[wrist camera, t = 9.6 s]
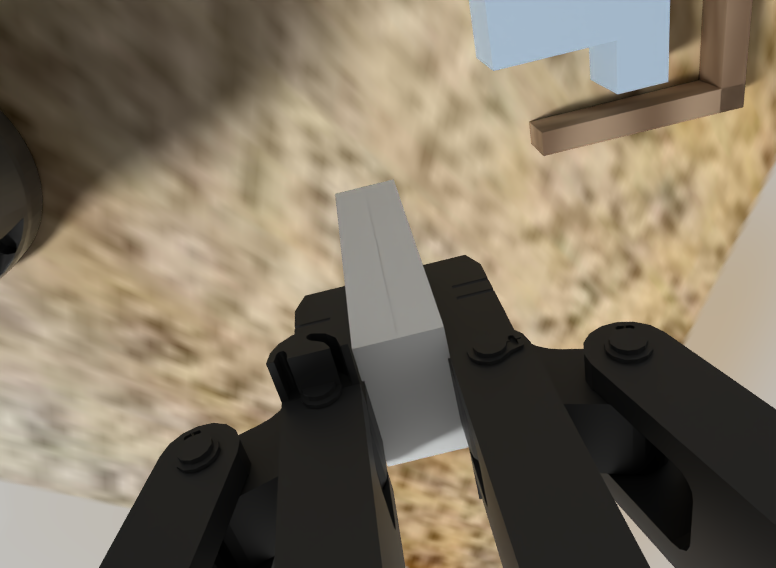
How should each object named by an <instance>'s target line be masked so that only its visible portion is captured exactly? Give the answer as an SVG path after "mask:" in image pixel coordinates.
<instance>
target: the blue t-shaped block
mask: <svg viewBox="0 0 776 568" xmlns="http://www.w3.org/2000/svg"><path fill="white" fill-rule="evenodd" d="M469 4H470V12H471V19H472V27H473V35H474V42H475V50H476V57H477V59H479V60H480V61H481V62H483V63H484V64H485V65H486V66H488V67H489V68H490V69H491V70H493V71H495V70H499V69H503V68H507V67H511V66H515V65H519V64H523V63H527V62H532V61H536V60H540V59H544V58H548V57H552V56H556V55H560V54H564V53H568V52H572V51H576V50H580V49H584V48H588V47H589V54H590V79H591V80H592V81H594V82H596V83H598V84H599V85H601V86H603V87H605V88H607V89H609V90H610V91H612V92H614V93H616V94H621V93H625V92H629V91H633V90H637V89H641V88H645V87H649V86H653V85H657V84H662V83H666V82H668V68H669V25H670V0H469Z"/></svg>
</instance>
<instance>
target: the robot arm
mask: <svg viewBox="0 0 776 568" xmlns="http://www.w3.org/2000/svg"><path fill="white" fill-rule="evenodd" d="M335 196H336V206H337V215H338V224H339V234H340V243H341V252H342V262H343V271H344V280H345V286H343V287H339V288H335V289H331V290H327V291H323V292H319V293H315V294H311V295H306V296H305V297H304V298H303V300H302V301H301V303H300V304H299V306H298V308H297V309H296V311H295V335H292V336H290V337H289V338H287V339H286V340H284V341H283V342H281V343H279V344H278V345H277V347H276V348H275V349H274V350H273V351H272V352H271V353H270V355H269V358H268V360H267V363H266V365H267V367H268V370H269V372H270V375H271V377H272V380H273V382H274V385H275V387H276V390H277V392H278V394H279V397H280V399H281V402H282V409H281V410H280V411H279V412H278V413H276V414H275V415H274V416H273V417H272V418H270V419H269V420H267V421H265V422H264V423H262V424H260V425H258V426H256V427H254V428H252V429H250V430H248V431H246V432H244V433H242V434H240V435H238V434H237V432H236V430H235V429H233V428H232V427H230V426H228V425H227V424H218V423H211V424H206V425H202V426H198V427H196V428H194V429H191V430H189V431H187V432H185V433H183V434H182V435H180V436H179V437H178V438H177V439H175V440H174V441H173V442H172V443H170V444H169V445H168V447H167V448H166V449H165V451H164V452H163V453H162V455H161V456H160V457H159V459H158V461H157V463H156V465H155V466H154V468H153V470H152V472H151V474H150V476H149V477H148V479H147V481H146V483H145V485H144V487H143V488H142V490H141V492H140V494H139V496H138V497H137V499H136V501H135V503H134V505H133V507H132V508H131V510H130V512H129V514H128V516H127V518H126V519H125V521H124V523H123V525H122V527H121V528H120V530H119V532H118V534H117V536H116V538H115V539H114V541H113V543H112V545H111V547H110V548H109V550H108V552H107V554H106V556H105V558H104V559H103V561H102V563H101V565H100V567H99V568H405V562H404V556H403V549H402V543H401V537H400V530H399V524H398V518H397V511H396V505H395V498H394V492H393V488H392V485H391V481H390V478H389V475H388V472H387V466H386V462H387V465H388V466H392V465H396V464H401V463H405V462H409V461H413V460H417V459H421V458H425V457H429V456H434V455H438V454H442V453H446V452H450V451H454V450H458V449H463V448H467V447H468V446H469V450H470V455H471V460H472V464H473V469H474V474H475V479H476V484H477V489H478V494H479V499H483V503H484V506H485V509H486V513H487V516H488V519H489V523H490V526H491V529H492V532H493V536H494V539H495V542H496V546H497V549H498V552H499V556H500V559H501V562H502V565H503V568H650V566H649V564H648V563H647V561H646V559H645V557H644V555H643V553H642V551H641V549H640V547H639V546H638V544H637V542H636V540H635V538H634V536H633V534H632V533H631V530H630V529H629V527H628V525H627V523H626V521H625V519H624V517H623V515H622V514H621V512H620V510H619V508H618V506H617V504H616V502H617V503H618V505H619V506H620V507H621V508H622V509H623V510H624V511H625V512H626V513H627V515H628V516H629V517H630V518H631V519H632V520H633V521H634V522H635V524H636V525H637V526H638V527H639V528H640V529H641V530H642V531H643V532H644V534H645V535H646V536H647V537H648V538H649V539H650V540H651V542H652V543H653V544H654V545H655V546H656V547H657V548H658V549H659V551H660V552H661V553H662V554H663V555H664V556H665V557H666V558H667V559H668V561H669V562H670V563H671V564H672V565H673V566H674V567H675V568H776V409H775V408H773V407H771V406H770V405H769V404H767V403H766V402H764V401H763V400H762V399H760V398H759V397H757V396H756V395H754V394H753V393H752V392H750V391H749V390H747V389H746V388H744V387H743V386H741V385H740V384H739V383H737V382H736V381H734V380H733V379H731V378H730V377H728V376H727V375H726V374H724V373H723V372H721V371H720V370H718V369H717V368H715V367H714V366H713V365H711V364H710V363H708V362H707V361H705V360H704V359H702V358H701V357H700V356H698V355H697V354H695V353H694V352H692V351H691V350H689V349H688V348H687V347H685V346H684V345H682V344H681V343H680V342H678V341H677V340H675V339H674V338H672V337H671V336H669V335H668V334H667V333H665V332H663V331H661V330H659V329H657V328H655V327H653V326H651V325H647V324H642V323H637V322H616V323H612V324H608V325H604V326H601V327H599V328H598V329H596V330H595V331H593V332H591V333H590V334H589V335H588V337H587V338H586V340H585V342H584V349H548V348H543V347H538V346H535V345H533V344H531V342H530V341H529V340H528V339H527V338H526V337H525V336H524V334H523V333H520V332H518V331H516V330H514V328H513V326H512V325H511V323H510V321H509V319H508V317H507V315H506V313H505V311H504V309H503V307H502V305H501V303H500V301H499V299H498V297H497V295H496V293H495V291H493V287H492V286H491V284H490V282H489V280H488V279H487V276H486V274H485V272H484V270H483V268H482V266H481V264H480V263H478V262H476V261H475V260H473V259H471V258H470V257H468V256H466V255H463V256H458V257H454V258H450V259H446V260H442V261H438V262H434V263H430V264H426V265H423V264H422V261H421V258H420V255H419V253H418V250H417V247H416V244H415V241H414V238H413V235H412V232H411V229H410V226H409V223H408V220H407V217H406V215H405V212H404V209H403V206H402V203H401V200H400V197H399V194H398V191H397V188H396V185H395V182H394V179H393V180H389V181H385V182H381V183H377V184H373V185H369V186H365V187H361V188H357V189H353V190H349V191H345V192H341V193H337V194H335ZM42 204H43V199H42V188H41V182H40V178H39V174H38V171H37V168H36V165H35V162H34V160H33V158H32V155H31V153H30V151H29V149H28V147H27V145H26V144H25V142H24V140H23V139H22V137H21V136H20V134H19V133H18V131H17V130H16V128H15V127H14V126H13V124H12V123H11V122H10V120H9V119H8V118H7V117H6V116H5V115H4V114H3V112H2V111H1V110H0V278H1V277H3V276H4V275H5V274H6V273H7V272H8V271H9V270H10V269H11V268H12V267H13V266H14V265H15V264H16V262H17V261H18V260H19V259H20V258H21V257H22V256H23V254H24V253H25V252H26V251H27V250H28V248H29V247H30V245H31V244H32V242H33V240H34V238H35V236H36V234H37V231H38V228H39V225H40V221H41V216H42ZM385 458H386V460H385ZM615 501H616V502H615Z"/></svg>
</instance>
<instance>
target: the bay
mask: <svg viewBox="0 0 776 568" xmlns="http://www.w3.org/2000/svg"><path fill="white" fill-rule="evenodd" d="M752 2H753V0H703V10H702V31H701V51H700V71H699V80H697V81H693V82H689V83H685V84H681V85H677V86H673V87H669V88H665V89H661V90H657V91H653V92H649V93H644V94H640V95H636V96H632V97H628V98H624V99H620V100H616V101H612V102H608V103H604V104H600V105H596V106H592V107H587V108H583V109H579V110H575V111H571V112H567V113H563V114H559V115H555V116H551V117H547V118H543V119H539V120H535V121H530V122H529V124H530V134H531V144H532V145H533V146H534V147H535V148H536V149H537V150H538V151H539V152H540V153H541V154H542V155H543V156H546V155H550V154H554V153H558V152H562V151H566V150H570V149H574V148H578V147H582V146H586V145H591V144H595V143H599V142H603V141H607V140H611V139H615V138H619V137H623V136H627V135H631V134H635V133H640V132H644V131H648V130H652V129H656V128H660V127H664V126H668V125H672V124H676V123H680V122H684V121H689V120H693V119H697V118H701V117H705V116H709V115H713V114H717V113H721V112H725V111H729V110H733V109H738V108H742V107H743V104H744V93H745V82H746V70H747V59H748V47H749V36H750V24H751V13H752Z"/></svg>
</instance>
